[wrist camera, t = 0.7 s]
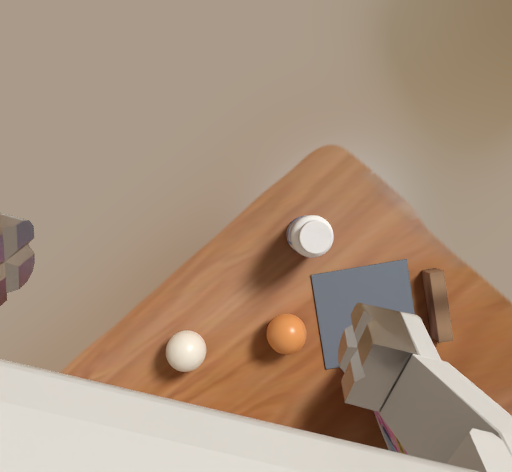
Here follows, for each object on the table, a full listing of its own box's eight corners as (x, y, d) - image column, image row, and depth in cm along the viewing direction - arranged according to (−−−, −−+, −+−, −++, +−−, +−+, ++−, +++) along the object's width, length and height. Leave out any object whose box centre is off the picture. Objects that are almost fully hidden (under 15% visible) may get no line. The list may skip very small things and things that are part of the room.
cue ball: (211, 359, 57) (207, 374, 51) (173, 365, 57) (165, 381, 51) (204, 322, 57) (200, 334, 51) (166, 328, 56) (158, 341, 51)
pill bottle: (330, 238, 56) (348, 243, 47) (300, 260, 56) (312, 270, 47) (308, 207, 56) (321, 206, 46) (278, 230, 56) (284, 233, 46)
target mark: (419, 352, 58) (420, 353, 57) (325, 368, 57) (326, 369, 57) (406, 259, 57) (406, 259, 57) (311, 275, 57) (311, 275, 56)
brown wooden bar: (444, 334, 58) (453, 340, 55) (431, 337, 58) (439, 342, 55) (435, 268, 57) (443, 270, 54) (421, 270, 57) (429, 272, 54)
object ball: (306, 343, 57) (312, 356, 52) (268, 349, 57) (271, 364, 52) (300, 306, 57) (306, 316, 51) (262, 312, 57) (264, 323, 51)
